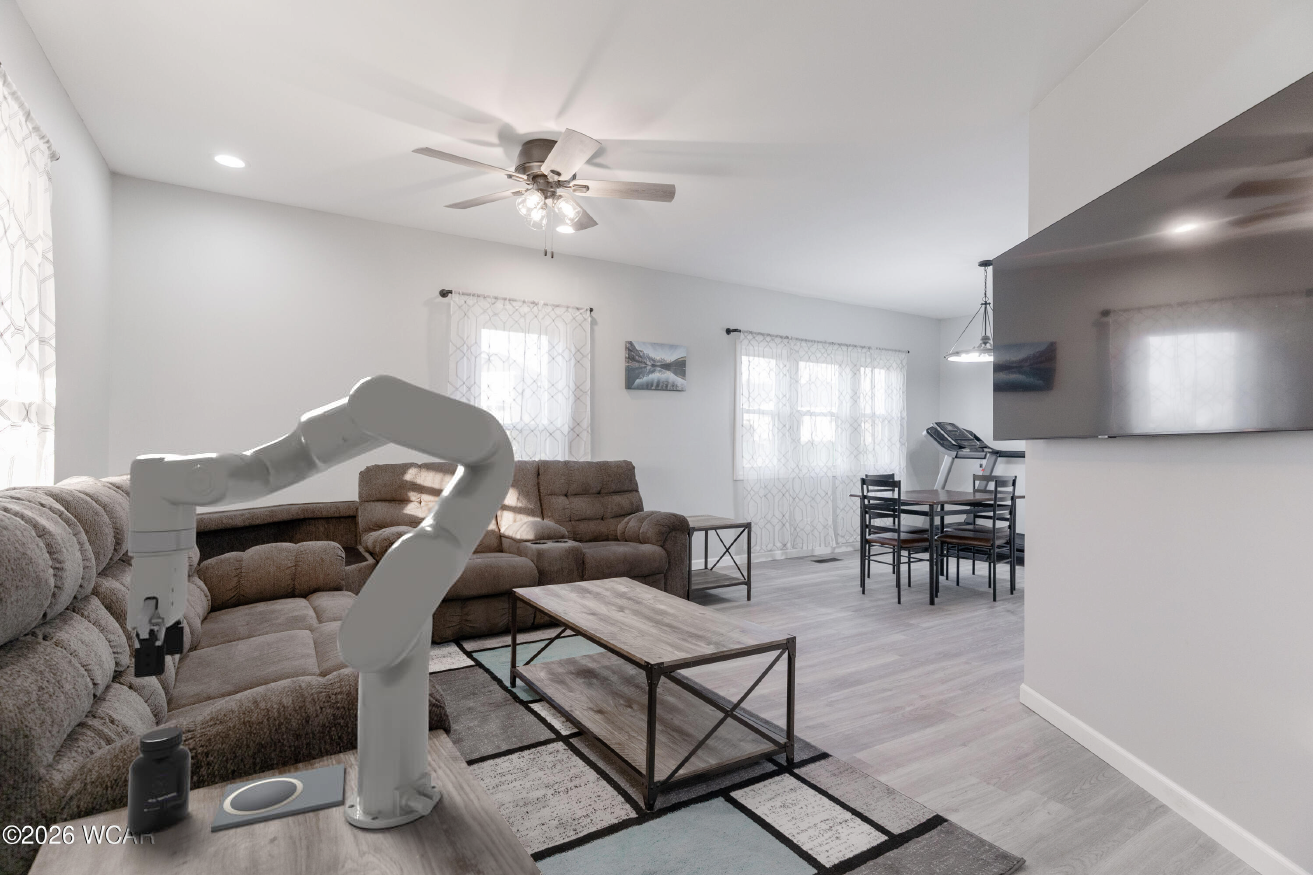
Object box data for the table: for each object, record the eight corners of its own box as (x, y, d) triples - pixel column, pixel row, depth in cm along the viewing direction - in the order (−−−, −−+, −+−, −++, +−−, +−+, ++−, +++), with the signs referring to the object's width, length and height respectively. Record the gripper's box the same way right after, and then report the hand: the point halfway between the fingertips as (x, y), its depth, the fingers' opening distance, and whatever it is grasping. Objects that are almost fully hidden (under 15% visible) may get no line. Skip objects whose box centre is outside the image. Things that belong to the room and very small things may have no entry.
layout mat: (344, 767, 104) (344, 762, 104) (342, 803, 93) (342, 798, 93) (227, 788, 97) (227, 783, 97) (210, 831, 86) (210, 825, 86)
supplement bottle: (155, 838, 85) (157, 747, 85) (114, 832, 86) (115, 742, 87) (201, 810, 92) (203, 725, 92) (162, 805, 93) (163, 721, 93)
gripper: (148, 536, 96) (145, 650, 96) (106, 552, 80) (103, 689, 80) (208, 533, 99) (206, 644, 99) (179, 548, 84) (176, 680, 83)
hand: (160, 664), depth 89 cm, fingers open, 9 cm apart
